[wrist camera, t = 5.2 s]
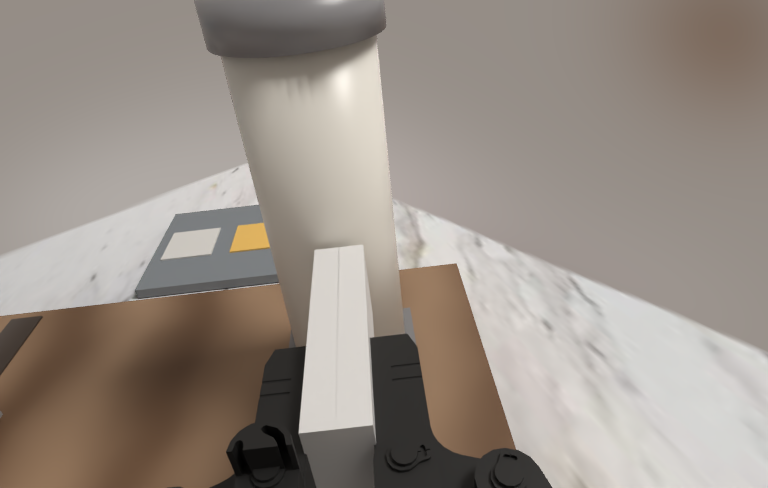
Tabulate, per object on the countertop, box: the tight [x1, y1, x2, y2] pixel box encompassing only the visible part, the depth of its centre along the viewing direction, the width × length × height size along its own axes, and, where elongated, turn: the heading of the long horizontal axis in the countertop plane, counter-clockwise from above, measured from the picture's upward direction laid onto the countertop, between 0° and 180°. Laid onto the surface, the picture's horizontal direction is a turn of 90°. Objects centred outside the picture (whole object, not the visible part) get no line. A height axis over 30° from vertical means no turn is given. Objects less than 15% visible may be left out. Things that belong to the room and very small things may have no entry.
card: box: [135, 205, 279, 298], centre depth 34 cm, size 9×9×1 cm
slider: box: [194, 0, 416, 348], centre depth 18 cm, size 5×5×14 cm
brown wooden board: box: [0, 264, 516, 488], centre depth 22 cm, size 28×13×2 cm, turn 94°
